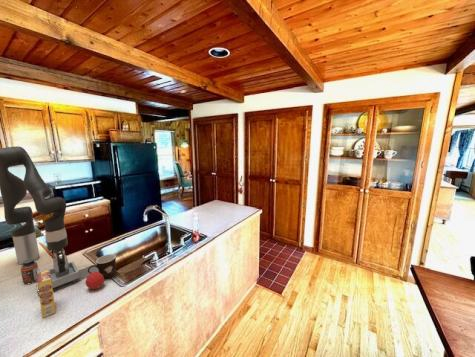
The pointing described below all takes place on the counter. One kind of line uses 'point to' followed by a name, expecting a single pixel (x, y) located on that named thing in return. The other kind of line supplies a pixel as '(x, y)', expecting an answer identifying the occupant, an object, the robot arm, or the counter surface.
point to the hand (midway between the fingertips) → (61, 269)
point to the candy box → (46, 293)
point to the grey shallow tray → (64, 278)
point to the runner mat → (82, 274)
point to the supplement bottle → (29, 271)
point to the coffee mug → (106, 266)
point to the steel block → (58, 267)
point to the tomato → (94, 280)
